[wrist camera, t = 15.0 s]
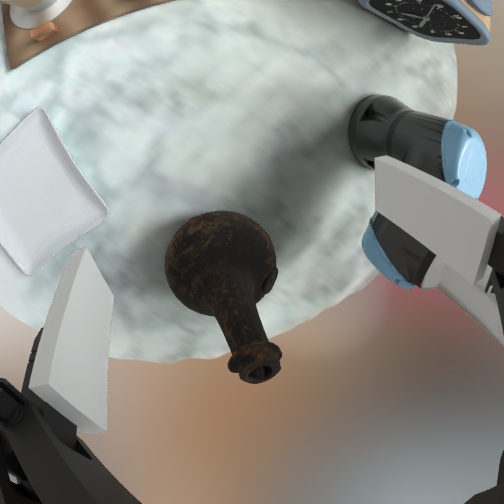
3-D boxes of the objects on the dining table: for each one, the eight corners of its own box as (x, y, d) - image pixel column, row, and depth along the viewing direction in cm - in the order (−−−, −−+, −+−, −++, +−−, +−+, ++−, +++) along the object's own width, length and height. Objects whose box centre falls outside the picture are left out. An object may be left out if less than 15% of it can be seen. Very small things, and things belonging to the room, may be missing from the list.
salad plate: (48, 101, 31) (40, 102, 28) (115, 207, 43) (112, 215, 41) (-30, 182, 31) (-39, 188, 28) (33, 268, 43) (28, 279, 40)
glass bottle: (249, 287, 59) (306, 404, 37) (159, 284, 53) (175, 421, 30) (272, 205, 51) (365, 309, 29) (169, 193, 45) (188, 315, 22)
